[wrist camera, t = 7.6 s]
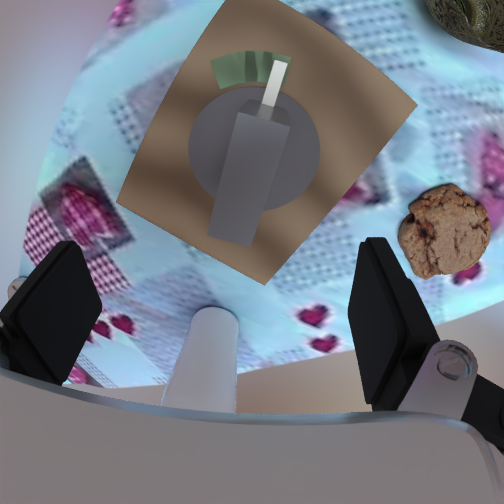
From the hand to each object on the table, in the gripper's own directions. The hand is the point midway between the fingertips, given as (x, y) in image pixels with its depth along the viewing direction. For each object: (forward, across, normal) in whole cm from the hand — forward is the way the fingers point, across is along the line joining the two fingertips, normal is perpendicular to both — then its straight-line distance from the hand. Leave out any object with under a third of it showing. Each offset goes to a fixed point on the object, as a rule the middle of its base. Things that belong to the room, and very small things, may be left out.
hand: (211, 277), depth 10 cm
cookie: (+16, -19, +7) cm, 26 cm away
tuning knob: (+14, -1, -1) cm, 14 cm away
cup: (+16, -16, -13) cm, 26 cm away
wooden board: (+16, -1, 0) cm, 16 cm away
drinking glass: (+17, +4, +19) cm, 26 cm away
